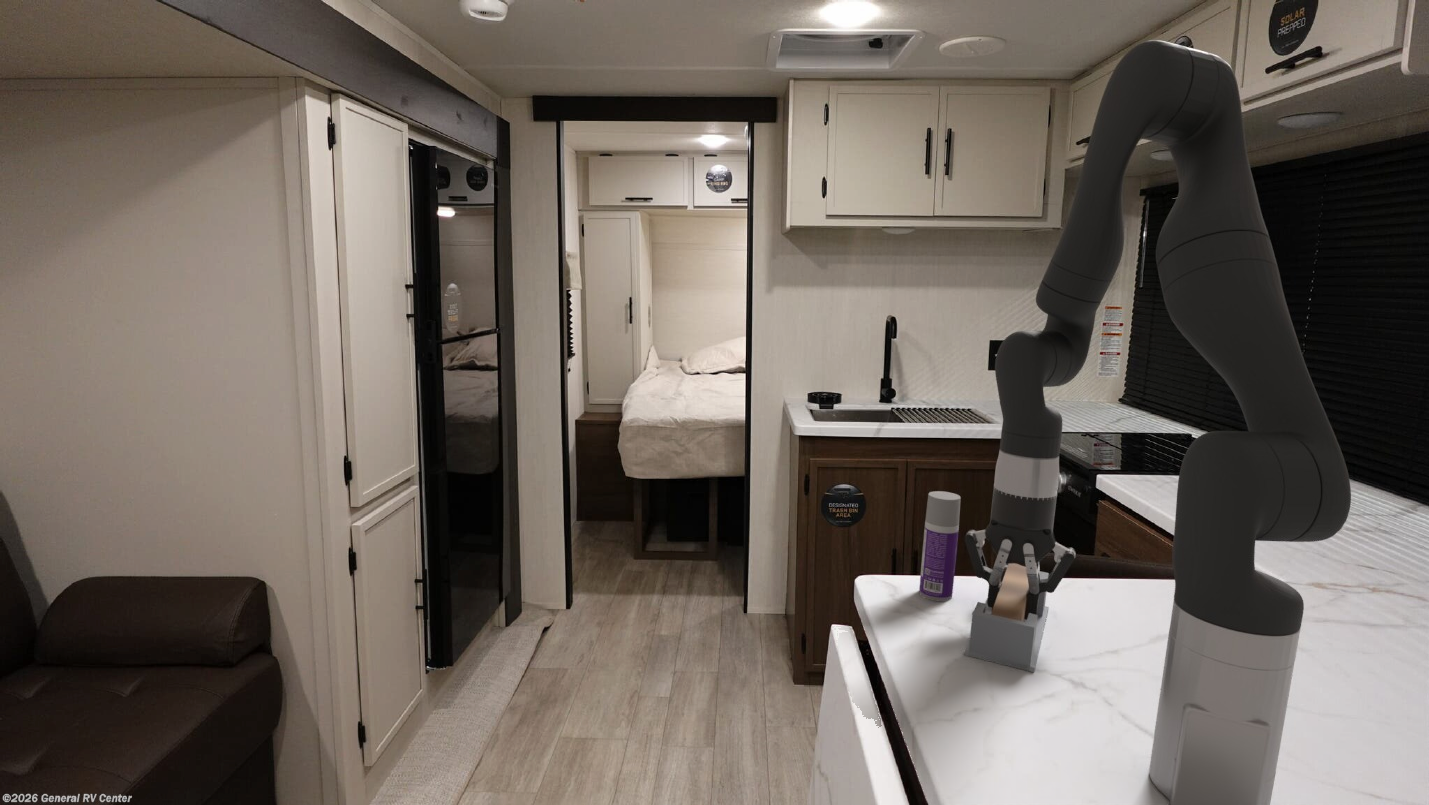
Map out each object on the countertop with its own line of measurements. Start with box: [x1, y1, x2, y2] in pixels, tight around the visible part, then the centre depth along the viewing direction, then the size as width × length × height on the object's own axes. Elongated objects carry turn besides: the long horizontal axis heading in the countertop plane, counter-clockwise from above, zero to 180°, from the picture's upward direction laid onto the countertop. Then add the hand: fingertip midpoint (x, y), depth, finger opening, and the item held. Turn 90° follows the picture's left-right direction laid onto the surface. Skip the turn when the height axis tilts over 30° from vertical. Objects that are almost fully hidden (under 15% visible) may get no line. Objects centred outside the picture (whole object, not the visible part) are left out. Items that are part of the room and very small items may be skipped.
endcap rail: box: [963, 564, 1050, 673], centre depth 100 cm, size 20×8×6 cm, turn 152°
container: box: [918, 490, 962, 602], centre depth 110 cm, size 5×5×15 cm
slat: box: [991, 563, 1029, 622], centre depth 100 cm, size 16×3×4 cm, turn 152°
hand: (1011, 613), depth 100 cm, fingers closed on slat, 3 cm apart
